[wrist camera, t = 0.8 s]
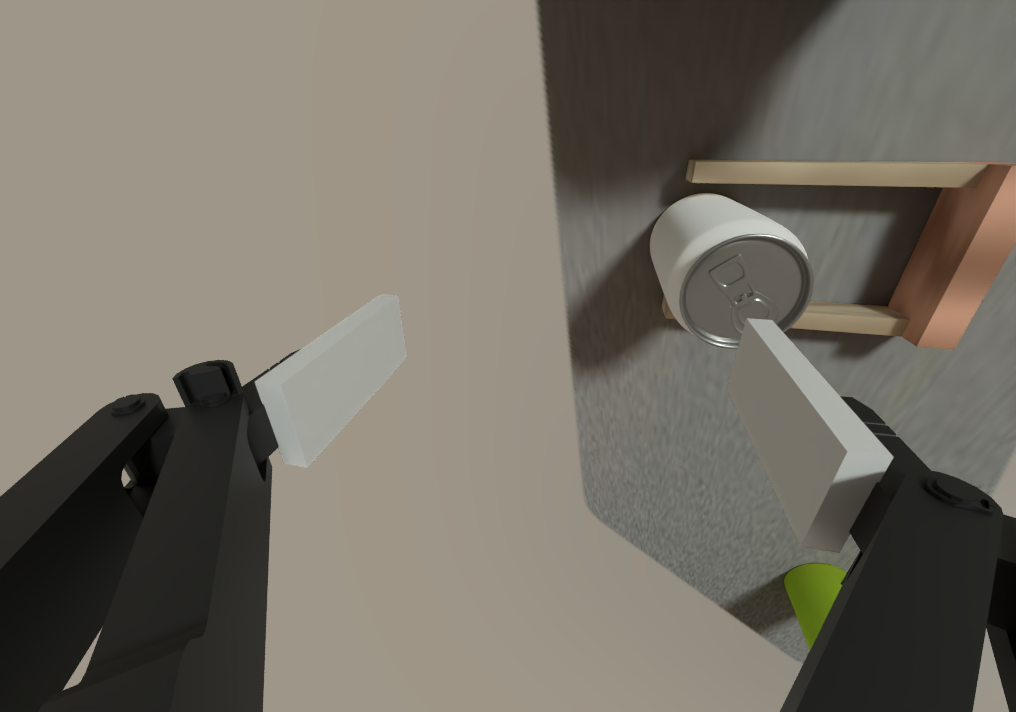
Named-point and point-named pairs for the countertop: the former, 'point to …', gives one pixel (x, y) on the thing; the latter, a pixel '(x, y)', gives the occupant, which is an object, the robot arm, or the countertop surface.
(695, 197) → the can
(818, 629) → the soap dispenser
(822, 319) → the guide lane
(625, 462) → the countertop surface
